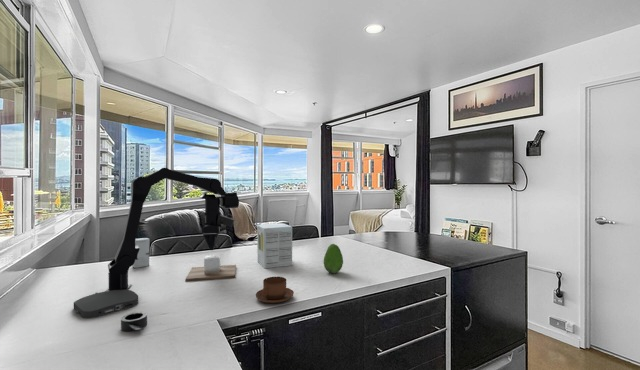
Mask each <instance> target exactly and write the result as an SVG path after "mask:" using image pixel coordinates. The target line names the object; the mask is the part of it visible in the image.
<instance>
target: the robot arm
mask: <svg viewBox="0 0 640 370" xmlns="http://www.w3.org/2000/svg"><path fill="white" fill-rule="evenodd" d="M163 180H169V181H174V182H176V183H177V182H178V183H182V184H185V185H188V186H189V185H190V186H192V187H193V186H194V187H195V188H198V189H200V190H202V191H204V192H203V193H202V194H201V195H200V196H199V199H202V200H204V209H205V210H204V217H205V218H204V219H205V222H204V226H203V227H202V229H201V234H202V236H203V237H204V240H205V242H206V244H207V246H208V248H209V250H210V251H214V249H215V246H216V244H217V239H218V236H219V235H220V231H221V230H222V227H223V226H227V227H228V228H233V225H234V222H235V218H233V216H232V214H229V213H228V214H227V215H224V214H223V215H222V212H221V207H222V209H225V210H226V209H238V208H239V205H240V199H239V197H238V193H237V192H236V191H231V192H226V190H225V189H224V188H223V186H222V183H221V181H220V180H219V179H218V178H212V177H211V178H210V177H199V176H195V175H192V174H188V173H184V172H181V171H178V170H173V169H169V168H168V167H161V168H158V170H156V171H153V172H151V173H149V174H148V175H145V176H137V177H135V178H133V179H132V180H131V183H130V197H131V198H130V206H129V210H128V215H127V219H126V224H125V228H124V233H123V238H122V240H121V243H120V244H119V246H118V248H117V251H116V253H115V255H114V258H113V259H112V261H111V262H109V263H108V264H107V269H108V275H107V276H108V277H107V278H108V288H107V289H106V290H104V291H103V292H105V291H111V290H130V288H131V287H132V286H133V285H132V284H129V269H130V268H131V267H133V266H132V265H133V264H134V263H135V259H136V260H138V259H137V255H138V252H139V250H140V248H139V247H138V246H135V240H136V239H137V235H138V231H139V225H140V221H141V217H142V211H143V207H144V204H145V201H146V200H147V197H148V195H149V193H150V190H151V188H152V186H154V185H156V184H158V183H160V182H161V181H163ZM206 192H207V193H206ZM208 193H209V194H208ZM210 193H211V194H210Z"/></svg>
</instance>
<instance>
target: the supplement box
mask: <svg viewBox="0 0 640 370" xmlns="http://www.w3.org/2000/svg"><path fill="white" fill-rule="evenodd" d="M256 225H257V227H256V230H257V232H256V235H257V236H256V237H257V238H256V239H257V249H256V250H257V251H256V253H257V257H256V258H257V263H258V264H260V265H261V267H262V268H264V269H271V268H278V267H289V266H292V265H293V226H291V225H289V224H286V223H283V222H282V223H281V222H279V223H263V224H256Z"/></svg>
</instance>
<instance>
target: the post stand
mask: <svg viewBox="0 0 640 370" xmlns="http://www.w3.org/2000/svg"><path fill="white" fill-rule="evenodd" d="M236 271H237V265H236V264H228V265H227V264H226V265H221V269H220V273H208V274H204V266H195V267H193V266H192V267H191V268H190V270H189V272H188V273H187V275H186V277H185V279H184V280H185V282H195V281H197V282H198V281H208V280H209V281H210V280H212V281H213V280H222V279H223V280H224V279H235V278H236Z"/></svg>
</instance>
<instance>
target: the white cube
mask: <svg viewBox="0 0 640 370" xmlns="http://www.w3.org/2000/svg"><path fill="white" fill-rule="evenodd" d="M203 260H204V262H203V267H204V274H208V273H220V269H221V266H222V265H221V264H222V263H221V254H207V255H206V254H205V256H204V258H203Z"/></svg>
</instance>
